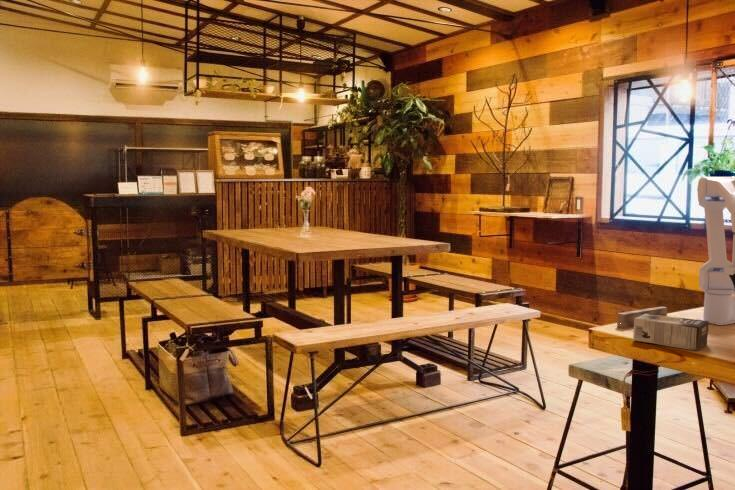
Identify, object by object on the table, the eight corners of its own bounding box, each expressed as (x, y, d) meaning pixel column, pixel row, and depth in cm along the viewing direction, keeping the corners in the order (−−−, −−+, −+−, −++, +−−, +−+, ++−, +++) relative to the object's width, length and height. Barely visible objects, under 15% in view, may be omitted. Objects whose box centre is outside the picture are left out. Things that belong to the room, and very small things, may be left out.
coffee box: (645, 312, 183) (709, 320, 173) (644, 335, 184) (707, 344, 174) (633, 317, 176) (700, 326, 166) (632, 341, 177) (698, 351, 167)
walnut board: (660, 319, 204) (661, 306, 204) (666, 320, 202) (667, 307, 202) (617, 326, 194) (617, 313, 194) (622, 328, 192) (623, 314, 192)
